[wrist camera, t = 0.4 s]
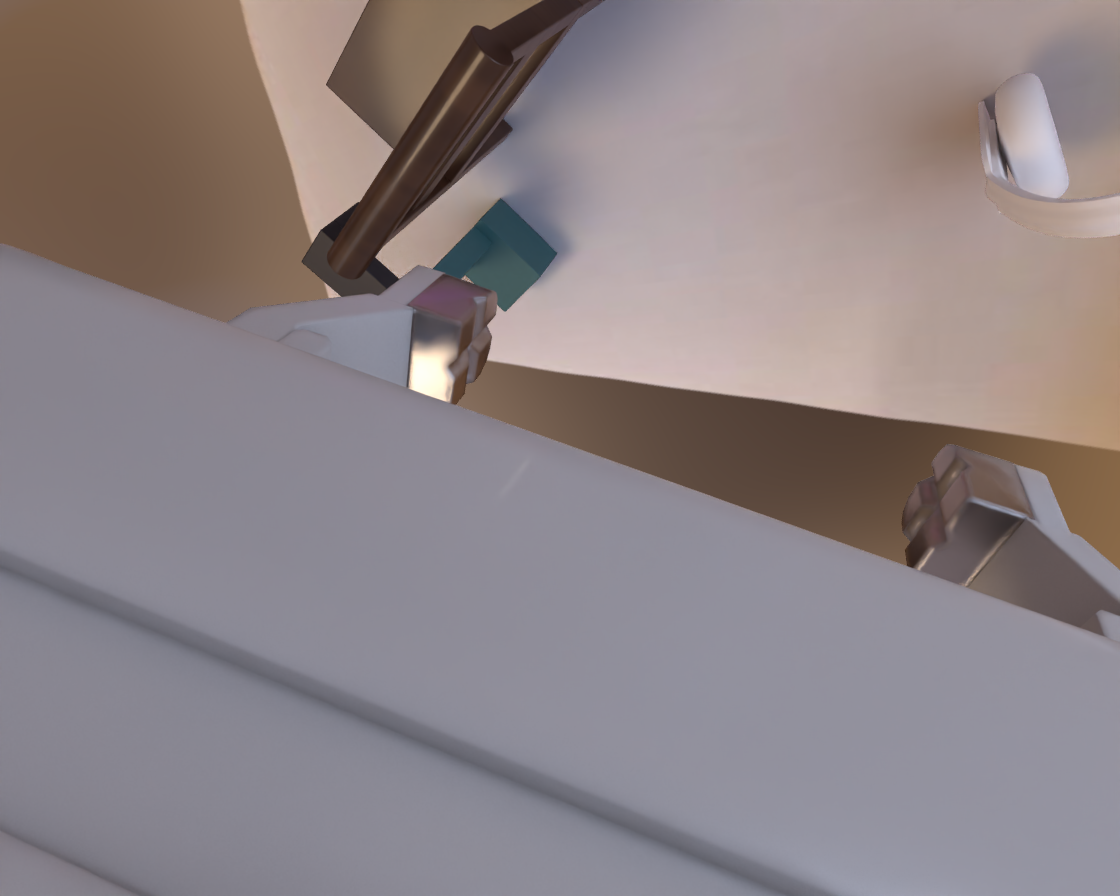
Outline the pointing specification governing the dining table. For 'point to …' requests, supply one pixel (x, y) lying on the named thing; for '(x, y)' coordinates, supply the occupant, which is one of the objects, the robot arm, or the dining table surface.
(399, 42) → the chair
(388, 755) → the robot arm
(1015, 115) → the headset
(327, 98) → the dining table surface
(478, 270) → the block
